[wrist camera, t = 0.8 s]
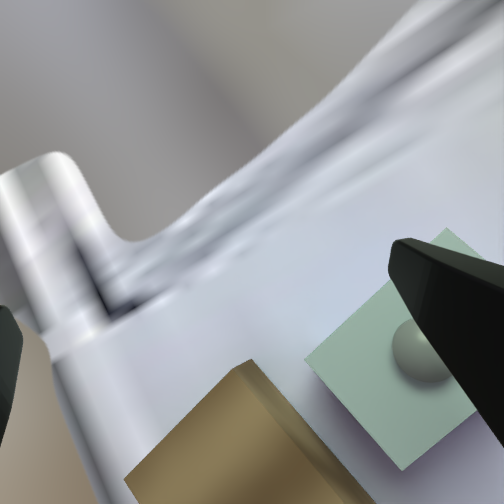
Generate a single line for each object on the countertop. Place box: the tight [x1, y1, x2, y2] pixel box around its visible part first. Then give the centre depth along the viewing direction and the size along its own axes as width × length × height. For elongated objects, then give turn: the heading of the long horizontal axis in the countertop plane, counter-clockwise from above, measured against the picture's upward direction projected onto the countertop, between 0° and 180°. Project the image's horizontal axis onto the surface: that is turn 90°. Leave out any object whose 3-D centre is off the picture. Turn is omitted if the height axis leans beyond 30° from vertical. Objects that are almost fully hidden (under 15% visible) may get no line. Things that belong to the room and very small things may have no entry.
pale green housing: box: [304, 227, 485, 471], centre depth 16 cm, size 6×8×6 cm
